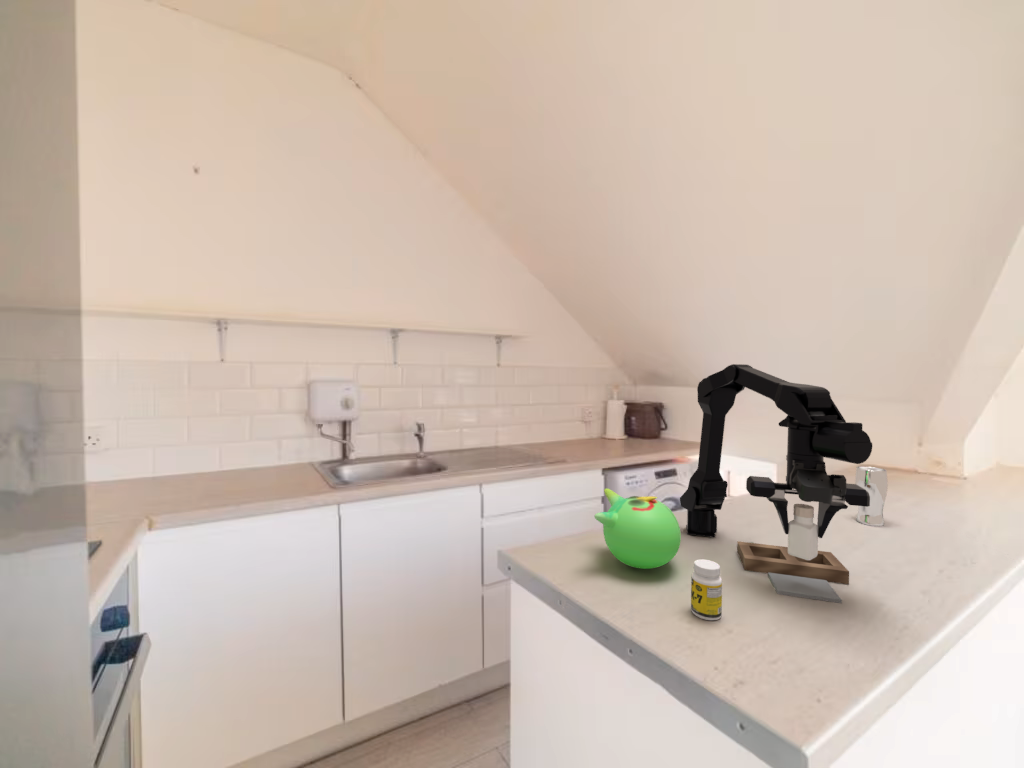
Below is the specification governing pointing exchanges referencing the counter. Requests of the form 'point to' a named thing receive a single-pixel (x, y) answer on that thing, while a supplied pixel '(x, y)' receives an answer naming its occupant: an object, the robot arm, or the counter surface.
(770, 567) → the wooden compartment tray
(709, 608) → the supplement bottle
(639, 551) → the toy bird
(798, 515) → the pepper shaker
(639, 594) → the counter surface
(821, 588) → the rubber pad
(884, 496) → the beer glass
